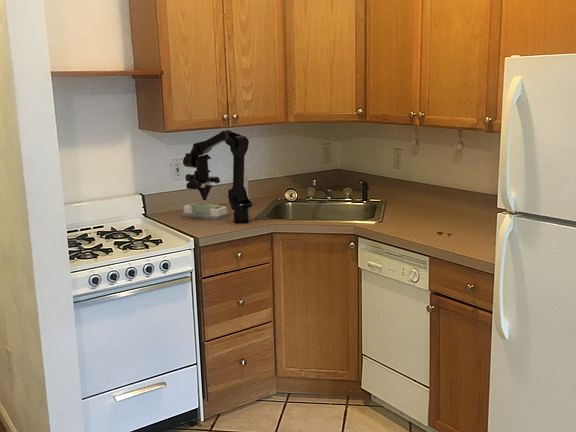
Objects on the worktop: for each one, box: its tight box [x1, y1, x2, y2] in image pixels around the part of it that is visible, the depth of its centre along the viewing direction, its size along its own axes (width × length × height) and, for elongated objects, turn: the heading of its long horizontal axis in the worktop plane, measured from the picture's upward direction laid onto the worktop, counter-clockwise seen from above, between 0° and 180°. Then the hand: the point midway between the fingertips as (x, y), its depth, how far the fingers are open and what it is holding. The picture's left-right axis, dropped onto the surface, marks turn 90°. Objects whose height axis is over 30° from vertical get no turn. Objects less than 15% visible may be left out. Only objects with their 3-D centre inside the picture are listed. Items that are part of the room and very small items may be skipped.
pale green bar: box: [189, 202, 221, 214], centre depth 320 cm, size 16×3×4 cm, turn 57°
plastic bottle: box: [241, 166, 251, 205], centre depth 335 cm, size 6×7×20 cm
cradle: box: [180, 203, 231, 221], centre depth 320 cm, size 22×10×4 cm, turn 58°
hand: (204, 200), depth 319 cm, fingers closed
